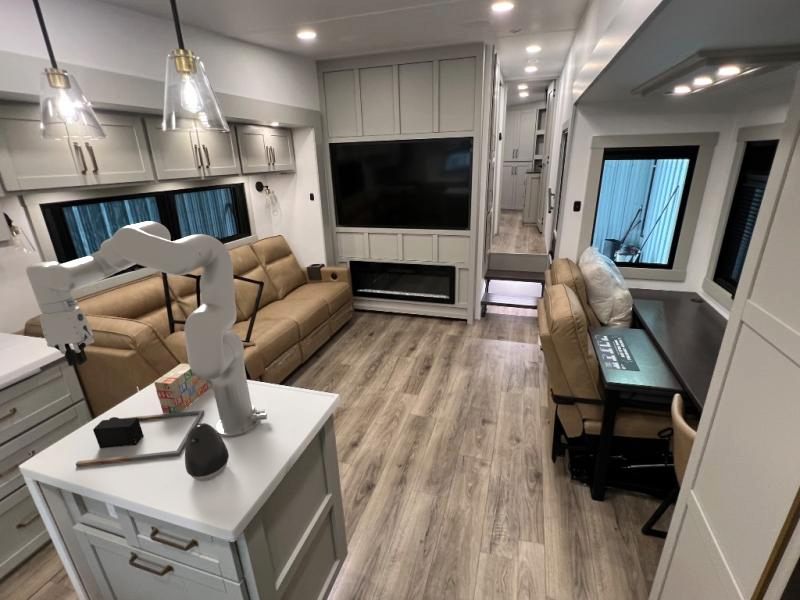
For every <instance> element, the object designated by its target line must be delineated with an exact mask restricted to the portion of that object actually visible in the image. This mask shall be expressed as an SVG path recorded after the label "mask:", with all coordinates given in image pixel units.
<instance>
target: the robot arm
mask: <svg viewBox="0 0 800 600" xmlns="http://www.w3.org/2000/svg"><path fill="white" fill-rule="evenodd" d="M171 239H172V237H171V233H170V231H169V229H168V228H167V227H166V226H165V225H163V224H161V223H160V222H157V221H143V222H138V223H133V224H130V225H129V224H128V225H125V226H123V227H121V228H119V229H118V230H117V231H115V232H114V234H113V236H112V237H110V238H107V239H106V240H103V241H102V243H101V244H100V248H99V250H98V251H96V252H94V253H92V254H89V255H87V256H83V257H80V258H76V259H72V260H70V261H67V262H63V263H60V262H58V261H42V262H37V263H33V264H30V265H28V266H26V269H25V272H26V273H25V274H26V276H27V279H28V281H29V284H30V285H31V289H32V292H33V294H34V297H35V299H36V303H37V304H38V307H39V310H40V313H39V320H40V326H41V330H42V333H43V336H44V339H45V341H46V345H47V346H48V347H49V348H52V349H53V348H54V349H56V350H58V351H59V352H60V353H61V354H62V355H64V357H65V360H66V363H67V364H68V366H69V367H73V365H75V364H77V365H78V366H81V365H83V364H85V362H87V360H88V359H87V354H86V351H85V349H86V348H87V346H89V345H91V344H93V343H94V342H95V339H94V338H93V335H94V333H93V330H92V328H91V325H90V323H89V320H88V318H87V317H86V315H85V313H84V311H83V309H81V307H80V306H78V305H79V301H78V300H76V299H74V296H73V293H72V292H74V291H76V290H77V291H78V290H79V289H82V288H84V287H87V286H89V285H91V284H95V283H97V282H100V281H103V280H104V279H107V278H108V277H111V276H113V275H115V274H116V273H119V272H121V271H124V270H126V269H128V268H130V267H133V266H135V265H139V266H142V267H146V268H148V269H152V270H155V271H159V272H162V273H165V274H168V275H172V276H186V275H188V274H190V273H193V272H195V271H197V270H198V269H200V268H201V275H200V281H199V290H200V295H201V296H200V298H201V299H200V305H199V307H198V308H196V309H195V310H194V311H192V312H191V313H190V314H189V316H188V317H187V318H186V320H185V324H184V337H185V345H186V347H185V348H186V353H187V362H188V364H189V366H190V369H191V371H192V372H193V374H194V375H195V376H197V377H198V378H200V379H202V380H212V385H213V386H212V389H213V393H214V398H215V402H216V407H217V411H218V416H219V420H218V421H217V424H216V426H215V428H216V429H215V430H216V431H217V432H218V434H219V435H220V436H221V437H223V438H235V437H238V436H240V437H241V436H243V435H245V434H247V433H249V432H251V431H252V430H254V429H255V428H256V427H257V426H258V425H259V423H260V421H261V420H262V421H264V420H267V419H268V413H267V412H266V410H265V409H256V407H255V405H252V400H251V396H250V390H249V384H248V379H247V374H246V369H245V352H244V349H245V348H244V343H243V342H244V341H243V340H242V338H241V337H240V336H239V334H238V333H236V332H235V331H233V330H230V329H231V328H232V327H233V325H234V324H235V322H236V321H237V305H236V295H235V294H236V291H235V284H234V283H235V282H234V281H235V280H234V267H233V261H232V260H233V259H232V257H231V254H230V252H229V250H228V248H227V247H226V246H225V245H224V243H222V242H221V241H220V240H219V239H217V238H215V237H213V236H211V235H208V234H205V233H204V234H201V233H199V234H198V233H197V234H191V235H188V236H185V237H182V238H180V239H176V240H173V241H171ZM72 347H73V348H72Z"/></svg>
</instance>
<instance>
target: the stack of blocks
mask: <svg viewBox="0 0 800 600" xmlns="http://www.w3.org/2000/svg"><path fill="white" fill-rule="evenodd" d="M153 384H154V387H155V390H156V396H157V398H158V400H159V403H160V406H161V410H162V411H161V412H162V414H169V413H180V412H184V411H185V410H186V409H187V408H189V407H190V406H191V405H192V404H193V403H194V402H195V400H196V399H197V398H198V397H199V398H200V397H201V396H203V395H204V394H205V393H206V392H208V391H209V390H210V389H211V388H213V385H212V380H202V379H200V378H198V377H197V376H195V375H194V374H193V372H192V371H191V369H190V366H189V363H180V364H178V365H177V366H175V367H174V368H172V369H171V370H169V371H168V372H167V373H165V374H164V375H162V376H160V377H159V378H157V379H156V380H154V383H153ZM204 392H205V393H204ZM203 393H204V394H203ZM199 398H198V399H199ZM198 399H197V400H198ZM197 400H196V401H197ZM191 403H192V404H191ZM190 404H191V405H190ZM189 405H190V406H189ZM186 407H187V408H186ZM185 408H186V409H185Z"/></svg>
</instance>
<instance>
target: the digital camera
mask: <svg viewBox="0 0 800 600" xmlns="http://www.w3.org/2000/svg"><path fill="white" fill-rule="evenodd" d="M136 417H137V418H128V417H123V418H124V419H120V418H121V417H120V418H119V417H116V416H115V417H114V416H113V417H110V418H109V419H102V420H101V421H100V422H99V423H97V425H96V426H94V428H93V429H92V431H93V434H94V436H95V439H96V442H97V445H98V446H99V449H107V448H108V449H109V448H119V447H121V448H122V447H132V446H134V447H135V446H137V445H138V444H139V443H140V441H141V440H142V439H143V438H144V433H143V429H142V427H141V423H140V422H141V421H139V419H138V416H136Z"/></svg>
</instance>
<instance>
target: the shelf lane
mask: <svg viewBox="0 0 800 600" xmlns="http://www.w3.org/2000/svg"><path fill="white" fill-rule="evenodd" d="M162 414H163V413H162ZM162 414H161V413H160V414H151V415H150V414H149V415H139V416H131V417H130V416H129V417H127V418H137V417H138V419H139V422H146V421H147V422H148V421H157V420H163V419H162V417H161V416H162ZM124 418H125V417H120V419H124ZM132 455H133V454H132ZM132 455H125V456H123V455H122V456H114V457H105V458H97V459H96V458H95V459H86V460H85V459H84V460H78V461H76V462H75V466H76V468H81V466H84V467H92V466H100V465H101V466H102V465H109V464H119V463H129V462H132V461H131V460H130V457H131V456H132Z"/></svg>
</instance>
